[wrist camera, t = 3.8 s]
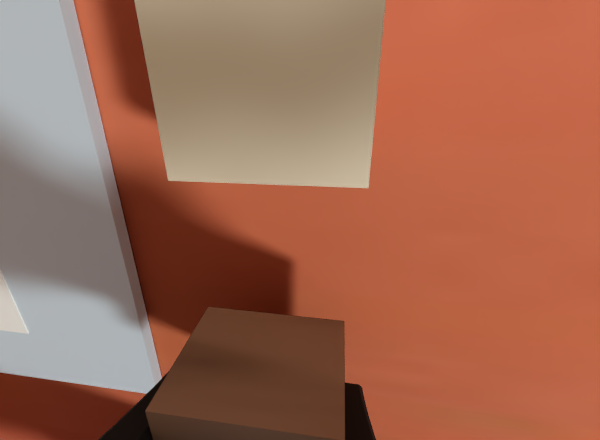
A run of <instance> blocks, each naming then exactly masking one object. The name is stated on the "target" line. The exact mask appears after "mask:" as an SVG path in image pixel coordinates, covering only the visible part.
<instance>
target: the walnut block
mask: <svg viewBox="0 0 600 440" xmlns="http://www.w3.org/2000/svg"><path fill="white" fill-rule="evenodd" d="M145 413H146V416H147V420H148V423H149V427H150V431H151V434H152V438H153V440H345V360H344V321H338V320H329V319H320V318H310V317H301V316H291V315H282V314H273V313H263V312H254V311H245V310H235V309H226V308H216V307H208V308H207V309H206V311H205V313H204V314H203V316H202V318H201V319H200V321H199V323H198V324H197V326H196V328H195V329H194V331H193V333H192V334H191V336H190V338H189V339H188V341H187V343H186V344H185V346H184V348H183V349H182V351H181V352H180V354H179V356H178V357H177V359H176V361H175V362H174V364H173V366H172V367H171V369H170V371H169V372H168V374H167V376H166V377H165V379H164V381H163V382H162V384H161V386H160V387H159V389H158V391H157V392H156V394H155V396H154V397H153V399H152V401H151V402H150V404H149V406H148V407H147V409H146V410H145Z"/></svg>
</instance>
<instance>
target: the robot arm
mask: <svg viewBox="0 0 600 440" xmlns="http://www.w3.org/2000/svg"><path fill="white" fill-rule="evenodd" d="M167 374H168V373H167ZM167 374H166V375H165V376H164V377H163V378H162V379H161V380H160V381H159V382H158V383H157V384H156V385H155V386H154V387H153V388H152V389H151V390H150V391H149V392H148V393H147V394H146V395H145V396H144V397H143V398H142V399H141V400H140V401H139V402H138V403H137V404H136V405H135V406H134V407H133V408H132V409H131V410H130V411H129V412H128V413H127V414H126V415H125V416H124V417H122V418H121V419H120V420H119V421H118V422H117V423H116V424H115V425H114V426H113V427H112V428H111V429H110V430H108V431H107V432H106V433H105V434H104V435H103V436H102V437H101V438H100V439H99V440H153V438H152V434H151V431H150V427H149V423H148V420H147V416H146V413H145V410H146V409H147V407H148V406H149V404H150V402H151V401H152V399H153V397H154V396H155V394H156V392H157V391H158V389H159V387H160V386H161V384H162V382H163V381H164V379H165V377H166V376H167ZM345 440H376V438H375V435H374V432H373V429H372V426H371V422H370V419H369V416H368V412H367V408H366V404H365V400H364V396H363V391H362V387H361V386H360V385H358V384H350V383H345Z"/></svg>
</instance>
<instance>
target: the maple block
mask: <svg viewBox="0 0 600 440" xmlns="http://www.w3.org/2000/svg"><path fill="white" fill-rule="evenodd" d="M134 2H135V7H136V12H137V18H138V23H139V28H140V34H141V39H142V44H143V49H144V55H145V60H146V65H147V71H148V76H149V81H150V87H151V92H152V97H153V102H154V108H155V113H156V118H157V124H158V129H159V134H160V140H161V145H162V150H163V155H164V161H165V166H166V171H167V177H168V181H190V182H217V183H244V184H271V185H298V186H325V187H352V188H368V187H369V176H370V165H371V154H372V143H373V132H374V121H375V110H376V100H377V89H378V78H379V67H380V56H381V45H382V34H383V23H384V13H385V2H386V0H134Z"/></svg>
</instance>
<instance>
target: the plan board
mask: <svg viewBox="0 0 600 440" xmlns="http://www.w3.org/2000/svg"><path fill="white" fill-rule="evenodd" d="M0 373H7V374H14V375H21V376H28V377H35V378H42V379H49V380H56V381H63V382H70V383H77V384H83V385H90V386H97V387H104V388H111V389H118V390H125V391H132V392H139V393H146V394H147V393H148V392H149V391H150V390H151V389H152V388H153V387H154V386H155V385H156V384H157V383H158V382H159V381H160V380H161V379H162V377H161V372H160V368H159V364H158V360H157V355H156V351H155V347H154V343H153V338H152V334H151V330H150V326H149V321H148V317H147V313H146V308H145V304H144V300H143V296H142V291H141V287H140V283H139V279H138V274H137V270H136V266H135V262H134V257H133V253H132V249H131V245H130V240H129V236H128V232H127V228H126V223H125V219H124V215H123V210H122V206H121V202H120V198H119V193H118V189H117V185H116V181H115V176H114V172H113V168H112V164H111V159H110V155H109V151H108V147H107V142H106V138H105V134H104V130H103V125H102V121H101V117H100V112H99V108H98V104H97V100H96V95H95V91H94V87H93V83H92V78H91V74H90V70H89V66H88V61H87V57H86V53H85V49H84V44H83V40H82V36H81V31H80V27H79V23H78V19H77V14H76V10H75V6H74V2H73V0H0Z"/></svg>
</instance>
